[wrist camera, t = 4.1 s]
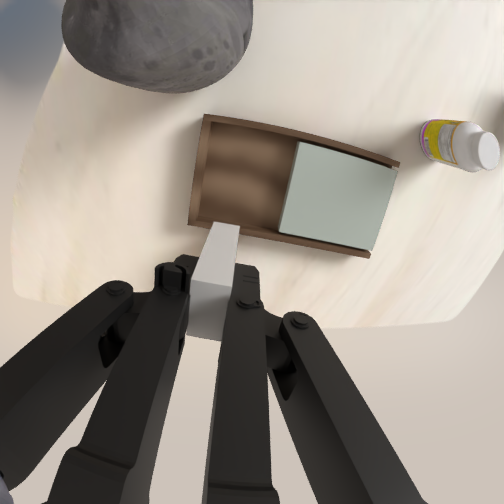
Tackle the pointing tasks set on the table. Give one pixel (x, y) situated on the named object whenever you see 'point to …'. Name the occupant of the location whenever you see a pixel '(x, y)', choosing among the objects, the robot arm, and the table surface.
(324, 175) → the cover plate
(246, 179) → the walnut case
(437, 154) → the supplement bottle
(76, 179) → the table surface
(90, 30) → the vase
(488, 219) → the table surface
